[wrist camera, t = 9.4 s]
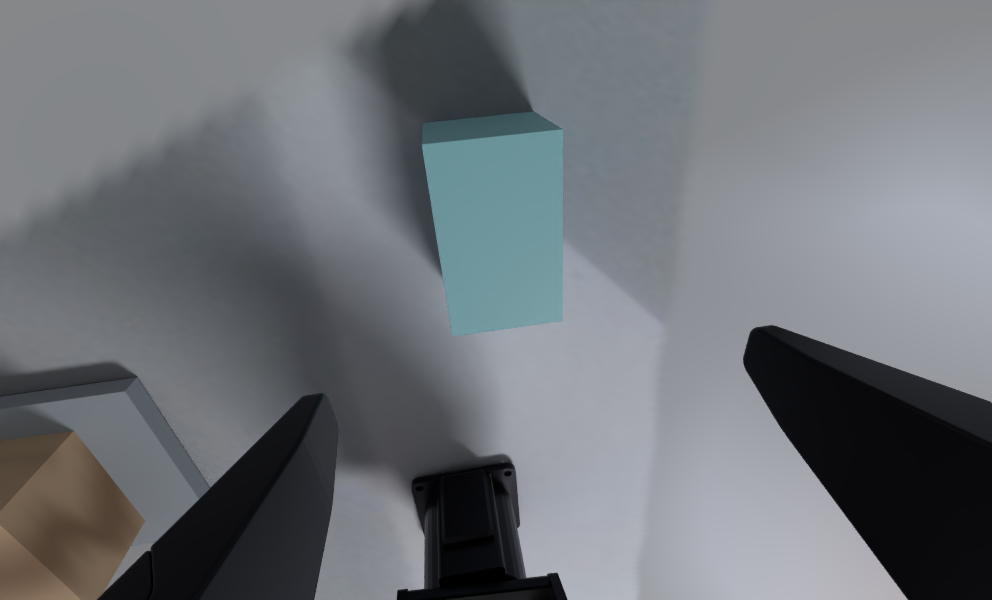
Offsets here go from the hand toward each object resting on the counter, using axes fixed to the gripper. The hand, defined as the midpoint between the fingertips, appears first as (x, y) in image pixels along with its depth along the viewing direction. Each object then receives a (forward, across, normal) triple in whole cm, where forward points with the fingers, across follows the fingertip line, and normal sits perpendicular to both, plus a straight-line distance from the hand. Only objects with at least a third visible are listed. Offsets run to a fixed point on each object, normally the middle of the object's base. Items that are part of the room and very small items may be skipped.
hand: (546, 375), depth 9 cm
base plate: (+12, +23, +12) cm, 28 cm away
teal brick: (+12, 0, 0) cm, 12 cm away
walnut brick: (+10, +23, +12) cm, 28 cm away
